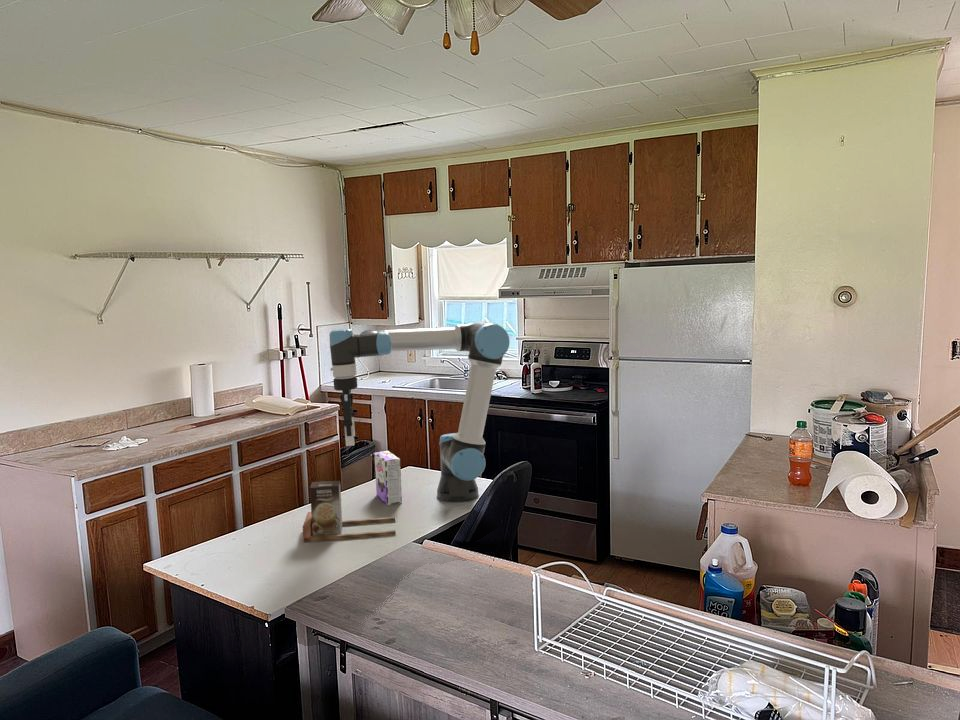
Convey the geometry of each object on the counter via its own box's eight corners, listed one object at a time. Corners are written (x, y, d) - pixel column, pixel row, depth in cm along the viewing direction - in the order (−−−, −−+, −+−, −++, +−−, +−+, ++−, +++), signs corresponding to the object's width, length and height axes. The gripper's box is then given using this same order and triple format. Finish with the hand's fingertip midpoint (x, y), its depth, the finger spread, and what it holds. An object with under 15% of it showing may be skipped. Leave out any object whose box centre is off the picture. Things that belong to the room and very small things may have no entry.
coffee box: (311, 537, 210) (308, 487, 208) (314, 530, 216) (311, 481, 215) (341, 535, 211) (338, 485, 209) (343, 528, 217) (340, 479, 216)
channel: (395, 520, 223) (394, 505, 222) (395, 535, 210) (394, 519, 209) (308, 527, 219) (307, 512, 219) (303, 542, 206) (302, 526, 206)
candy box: (375, 495, 251) (373, 452, 249) (391, 492, 253) (388, 449, 251) (386, 505, 238) (384, 460, 236) (402, 503, 241) (400, 458, 239)
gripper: (334, 373, 231) (340, 433, 233) (331, 383, 206) (337, 451, 209) (357, 371, 232) (362, 431, 234) (355, 381, 207) (362, 448, 210)
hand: (350, 440), depth 222 cm, fingers open, 13 cm apart
